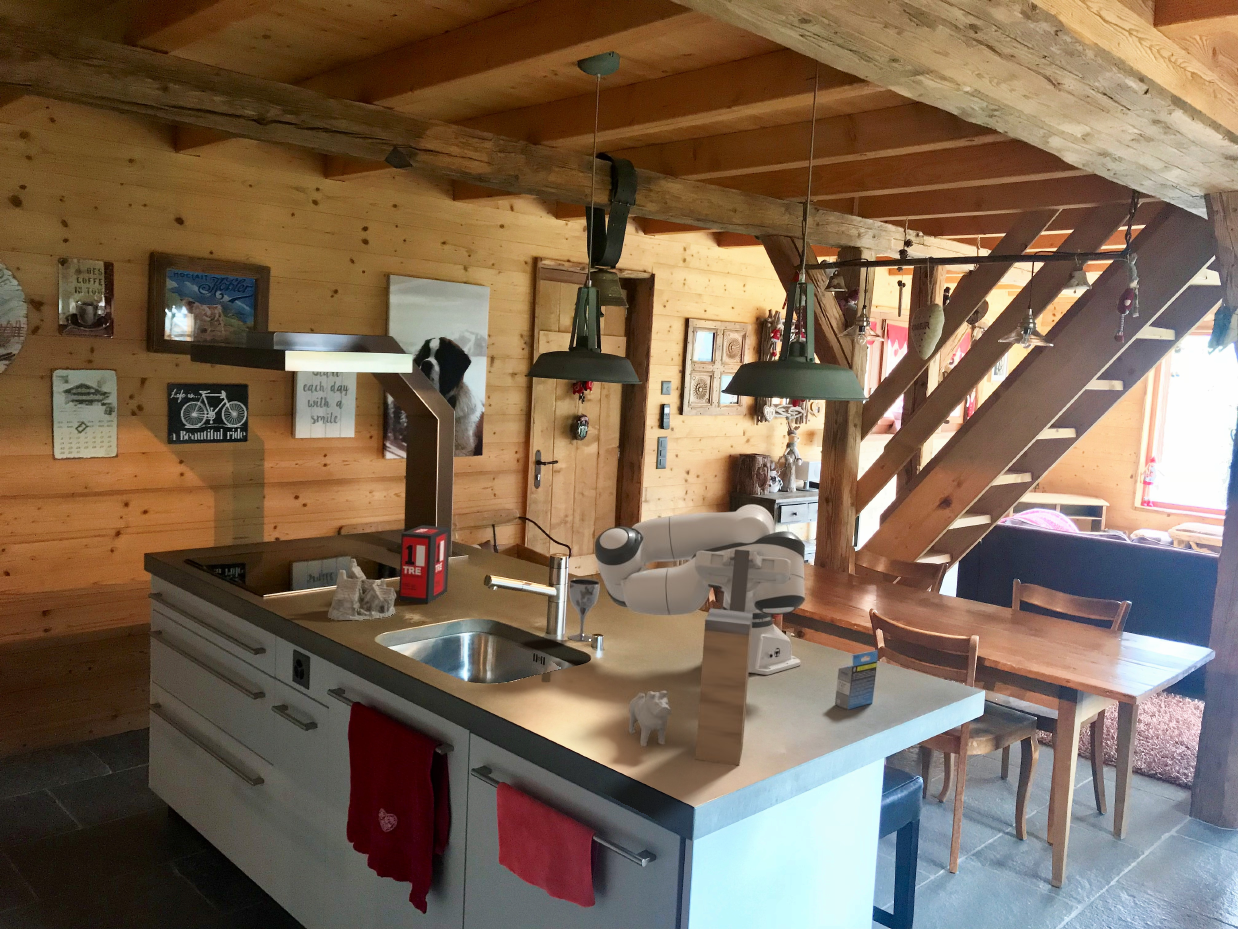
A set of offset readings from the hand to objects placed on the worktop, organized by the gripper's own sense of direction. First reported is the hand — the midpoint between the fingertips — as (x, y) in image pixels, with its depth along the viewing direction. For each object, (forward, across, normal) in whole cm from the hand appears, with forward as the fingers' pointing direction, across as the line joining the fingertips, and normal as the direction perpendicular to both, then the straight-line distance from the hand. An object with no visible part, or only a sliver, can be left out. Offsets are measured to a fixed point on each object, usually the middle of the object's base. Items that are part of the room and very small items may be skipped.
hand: (741, 554), depth 198 cm
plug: (-5, 0, -7) cm, 9 cm away
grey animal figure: (+2, +14, -40) cm, 42 cm away
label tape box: (-29, -26, -22) cm, 45 cm away
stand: (+4, 0, -41) cm, 41 cm away
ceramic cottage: (-51, +104, -9) cm, 116 cm away
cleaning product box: (-75, +97, +4) cm, 122 cm away
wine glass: (-53, +42, -8) cm, 68 cm away
